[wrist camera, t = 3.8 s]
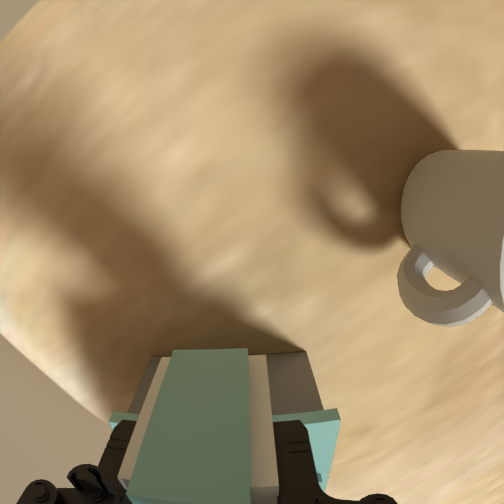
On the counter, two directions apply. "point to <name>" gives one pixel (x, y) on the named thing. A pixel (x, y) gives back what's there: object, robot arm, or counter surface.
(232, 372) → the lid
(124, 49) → the counter surface
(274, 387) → the tub
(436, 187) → the cup
